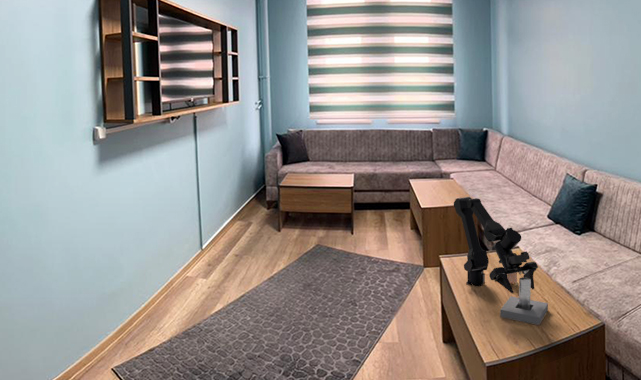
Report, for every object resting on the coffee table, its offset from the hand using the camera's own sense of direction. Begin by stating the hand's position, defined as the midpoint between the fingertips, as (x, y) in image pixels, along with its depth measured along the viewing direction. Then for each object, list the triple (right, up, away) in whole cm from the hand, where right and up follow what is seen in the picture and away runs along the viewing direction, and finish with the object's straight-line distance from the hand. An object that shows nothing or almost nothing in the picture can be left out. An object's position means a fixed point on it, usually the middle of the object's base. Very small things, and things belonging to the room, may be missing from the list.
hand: (523, 290), depth 196 cm
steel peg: (+1, -9, +1) cm, 9 cm away
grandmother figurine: (+7, -3, +29) cm, 30 cm away
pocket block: (+1, -9, +1) cm, 9 cm away
